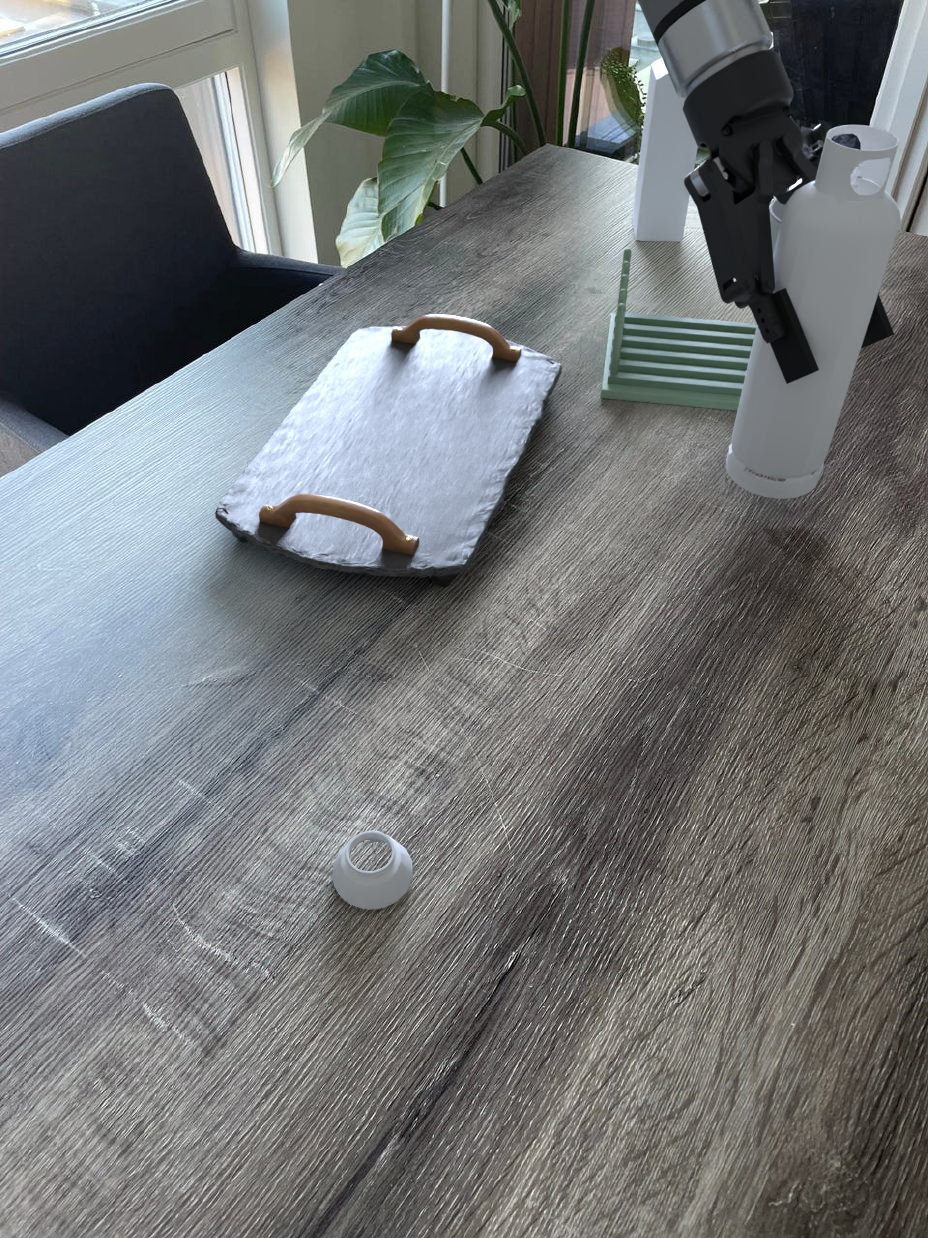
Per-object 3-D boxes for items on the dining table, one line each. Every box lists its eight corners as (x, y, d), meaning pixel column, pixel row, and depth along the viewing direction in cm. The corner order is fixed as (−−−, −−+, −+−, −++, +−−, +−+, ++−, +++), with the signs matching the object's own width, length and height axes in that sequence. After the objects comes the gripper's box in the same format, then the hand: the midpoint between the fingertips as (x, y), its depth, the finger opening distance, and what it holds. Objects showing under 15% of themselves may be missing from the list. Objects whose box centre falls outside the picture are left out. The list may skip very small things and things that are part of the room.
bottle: (752, 506, 84) (841, 166, 64) (709, 451, 90) (779, 122, 70) (837, 489, 86) (950, 152, 66) (790, 436, 91) (881, 110, 71)
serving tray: (367, 336, 110) (363, 283, 105) (572, 371, 105) (577, 317, 100) (196, 560, 84) (182, 502, 80) (458, 621, 79) (458, 563, 75)
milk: (676, 222, 131) (707, 33, 115) (682, 242, 127) (715, 49, 111) (630, 220, 131) (655, 32, 115) (634, 241, 127) (660, 48, 111)
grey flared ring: (411, 840, 65) (334, 844, 65) (409, 814, 63) (330, 819, 63) (414, 910, 62) (332, 915, 61) (412, 885, 59) (328, 891, 59)
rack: (782, 335, 110) (803, 253, 104) (791, 416, 99) (815, 330, 93) (610, 320, 113) (619, 239, 106) (600, 398, 101) (610, 313, 95)
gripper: (786, 77, 82) (888, 334, 85) (594, 132, 74) (713, 417, 76) (856, 19, 75) (965, 301, 78) (653, 73, 67) (782, 388, 69)
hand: (841, 358), depth 77 cm, fingers closed on bottle, 8 cm apart
